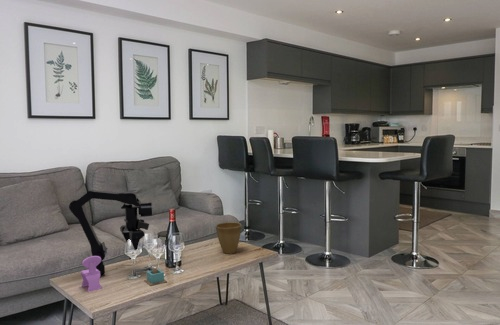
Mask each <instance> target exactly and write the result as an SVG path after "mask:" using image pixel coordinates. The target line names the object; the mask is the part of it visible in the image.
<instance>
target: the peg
mask: <svg viewBox="0 0 500 325" xmlns="http://www.w3.org/2000/svg"><path fill="white" fill-rule="evenodd" d="M153 269H154V270H153V274H156V273H158V268H157V269H156V268H153ZM143 282H144V283H146V284H147V285H149V286H150V287H153V286H158V285H162V284H165V283H168V280H166V279H165V278H164V281H162V282H157V283H153V284H151V283H150V282H149V281H148V280H147V278H146V279H143Z"/></svg>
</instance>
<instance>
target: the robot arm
mask: <svg viewBox="0 0 500 325" xmlns="http://www.w3.org/2000/svg"><path fill="white" fill-rule="evenodd" d="M92 199H93V200H94V199H95V200H106V201H115V202H116V201H117V202H120V203H122V204H123V205H121V207H120V209H121V210H122V209H123V210H124V214H125V218H124V220H123V221H124V222H125V224H124V225H120V227H119V229H120V230H119V231H120V232H121V235H122V237H123V238H124V240H125V243H127V240H128V239H130V240H131V246H132V247H133V250H134V251H137V250H138V247H139V244H140V240H142V238H144V237H145V231H144V230H146V231H147V230H148V229H149V228H150V223H148V222H145V220H144V219H142V218H140V219H139V218H138V215H139V216H140V217H152V216H153V210H154V209H153V204H152V202H151V201H150V202H149V201H148V202H141V200H140V199H139V198H138V195H137V193H136V192H135V191H132V190H130V191H120V192H118V191H117V192H116V191H105V190H96V189H95V190H94V189H89V190H88V191H86V193H84V195H82V196H81V197H80V198H75V199H73V200H72V201H70V203H69V205H68V208H69V210H70V212H71V214H72V215H73V216H74V217H75V218H76V219H77V220H78V222H79V224H80V226H81V228H82V231H83V233H84V234H85V236H86V239H87V241H88V242H89V246H90V251H91V256H99V257H101V262H100V263H99V264H98V265H97V266H96V269H97V270H99V271H100V277H104V276H106V273H105V272H106V270H105V269H106V267H105V264H104V262H103V261H104V260H105V257H106V256H107V254H108V247H107V246H106V243H105V241H103V242H101V241H100V239H99V238H98V236H97V234H96V231H95V230H94V228H93V225H92V223H91V221H90V219H89V217H88V214H87V207H86V204H87V203H88V202H90V200H92ZM142 229H143V230H142ZM148 231H149V230H148Z"/></svg>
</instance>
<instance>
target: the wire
mask: <svg viewBox="0 0 500 325" xmlns="http://www.w3.org/2000/svg"><path fill="white" fill-rule="evenodd" d="M154 269H155V268H153V267H152V266H149V267H145V268H139V269H135V270H133V271H132V273H133V274H132V276H133V277H136V276H137V273H141V272H148V271H152V270H154Z"/></svg>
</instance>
